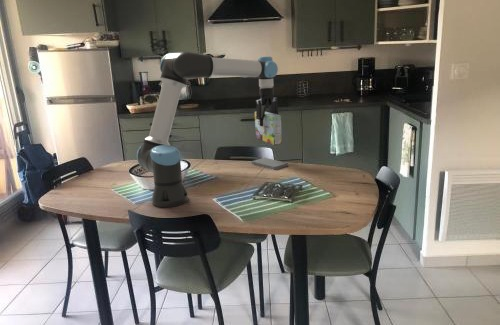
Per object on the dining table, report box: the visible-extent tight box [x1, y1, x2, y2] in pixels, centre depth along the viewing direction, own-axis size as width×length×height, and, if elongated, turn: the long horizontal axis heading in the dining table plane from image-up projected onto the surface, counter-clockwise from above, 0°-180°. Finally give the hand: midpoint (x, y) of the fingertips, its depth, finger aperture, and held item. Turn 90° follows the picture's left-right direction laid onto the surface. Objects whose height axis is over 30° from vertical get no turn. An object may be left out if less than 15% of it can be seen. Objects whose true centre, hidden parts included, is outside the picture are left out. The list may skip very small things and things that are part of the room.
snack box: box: [254, 111, 283, 146], centre depth 213 cm, size 21×6×15 cm, turn 26°
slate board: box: [251, 157, 289, 171], centre depth 219 cm, size 18×10×2 cm, turn 41°
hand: (268, 130), depth 214 cm, fingers closed on snack box, 7 cm apart
